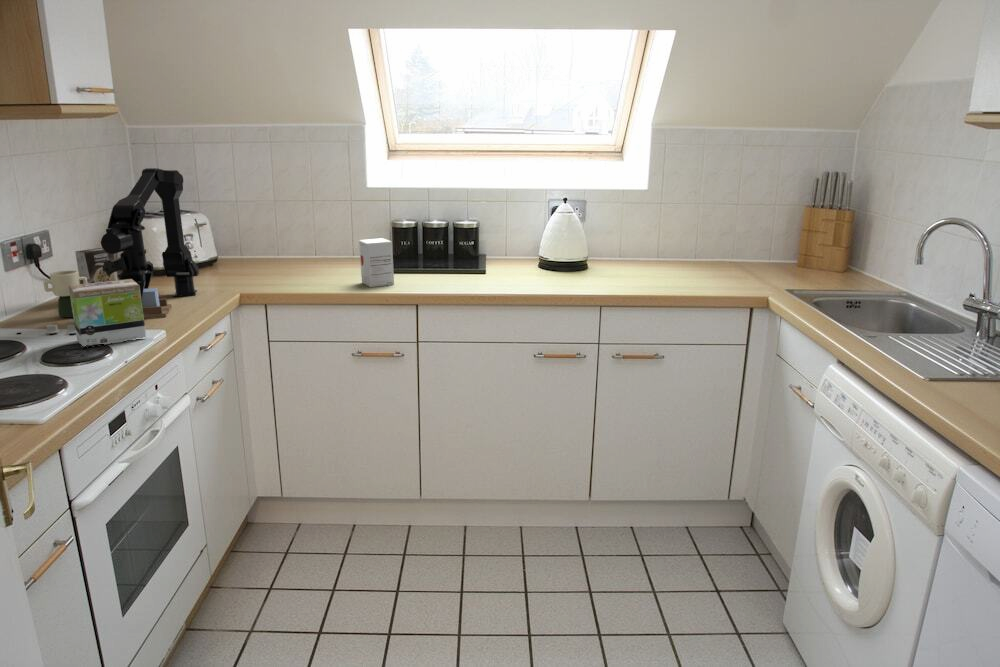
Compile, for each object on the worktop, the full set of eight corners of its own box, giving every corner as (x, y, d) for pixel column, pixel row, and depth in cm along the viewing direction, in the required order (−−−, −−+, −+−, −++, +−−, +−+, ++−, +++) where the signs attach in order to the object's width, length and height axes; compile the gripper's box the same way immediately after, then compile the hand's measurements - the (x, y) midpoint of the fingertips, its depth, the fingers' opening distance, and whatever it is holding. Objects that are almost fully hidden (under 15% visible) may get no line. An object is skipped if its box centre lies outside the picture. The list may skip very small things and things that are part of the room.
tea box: (82, 349, 184) (72, 291, 180) (76, 340, 192) (66, 284, 188) (147, 339, 192) (139, 283, 188) (139, 331, 200) (131, 277, 196)
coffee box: (94, 303, 232) (86, 252, 227) (82, 301, 235) (73, 250, 230) (121, 297, 239) (113, 248, 235) (109, 295, 242) (101, 246, 238)
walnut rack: (121, 311, 222) (119, 301, 221) (171, 307, 225) (170, 297, 224) (112, 321, 211) (110, 310, 210) (165, 317, 214) (164, 306, 213)
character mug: (92, 311, 222) (85, 268, 218) (92, 316, 216) (85, 272, 212) (50, 316, 217) (42, 272, 213) (49, 321, 211) (41, 276, 207)
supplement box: (361, 282, 257) (358, 239, 252) (385, 280, 261) (383, 237, 257) (369, 287, 249) (366, 243, 245) (394, 284, 253) (392, 240, 249)
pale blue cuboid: (127, 310, 219) (124, 290, 217) (160, 307, 221) (157, 287, 219) (123, 313, 214) (120, 293, 212) (157, 311, 216) (154, 291, 215)
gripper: (109, 244, 219) (117, 295, 223) (94, 254, 202) (103, 310, 206) (150, 242, 222) (157, 293, 226) (139, 252, 205) (147, 307, 209)
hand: (141, 300), depth 217 cm, fingers open, 9 cm apart
